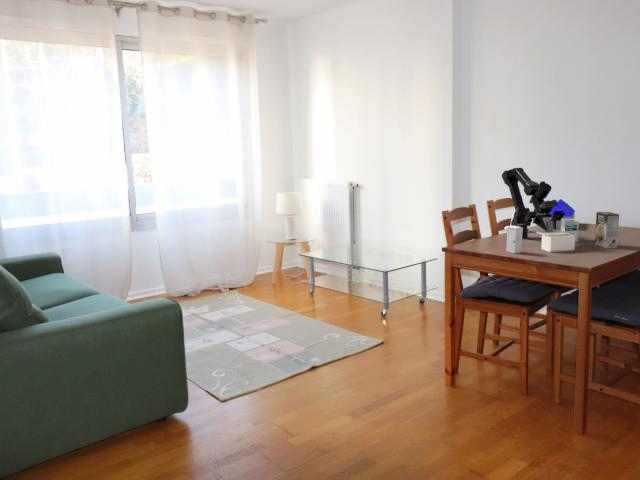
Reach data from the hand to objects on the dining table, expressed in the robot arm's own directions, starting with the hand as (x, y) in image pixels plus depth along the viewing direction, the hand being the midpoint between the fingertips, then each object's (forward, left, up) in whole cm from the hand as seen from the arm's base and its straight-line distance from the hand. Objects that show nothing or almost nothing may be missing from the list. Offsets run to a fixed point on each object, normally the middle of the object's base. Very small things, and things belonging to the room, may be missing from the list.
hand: (550, 229), depth 274 cm
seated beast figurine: (-27, +43, -9) cm, 51 cm away
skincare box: (-13, -17, -9) cm, 23 cm away
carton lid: (+1, -1, -1) cm, 2 cm away
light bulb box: (+5, +23, -9) cm, 25 cm away
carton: (+4, -5, -9) cm, 11 cm away
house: (-8, +68, -9) cm, 69 cm away
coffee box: (+23, +13, -9) cm, 28 cm away
